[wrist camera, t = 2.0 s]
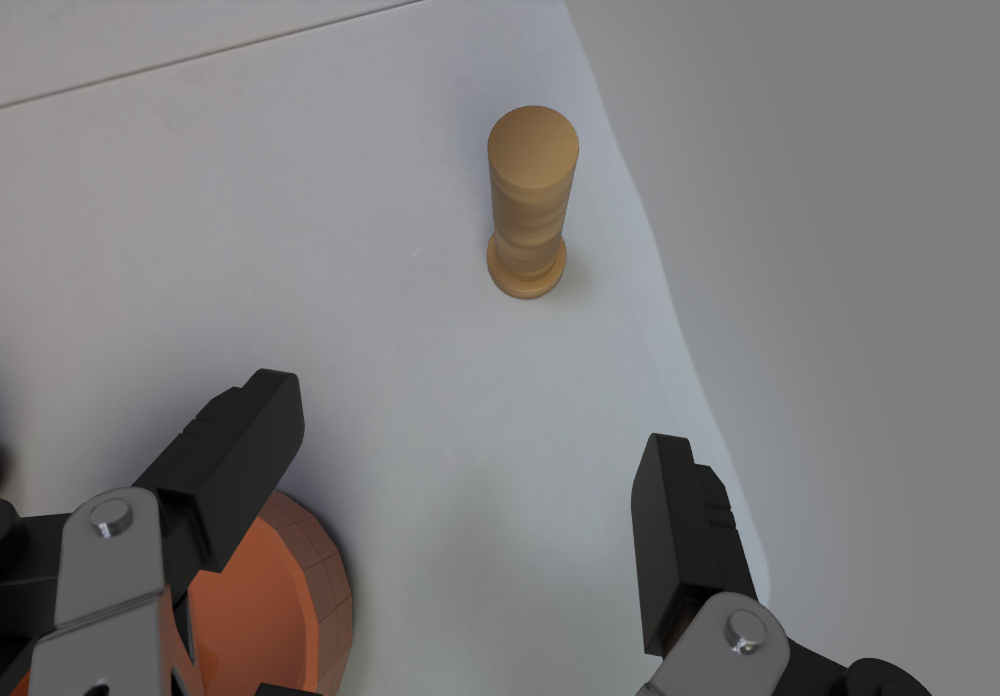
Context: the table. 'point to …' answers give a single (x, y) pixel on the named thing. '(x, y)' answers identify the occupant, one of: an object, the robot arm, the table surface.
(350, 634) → the bowl
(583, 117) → the table surface
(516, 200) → the wooden flanged peg
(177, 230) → the table surface
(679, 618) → the robot arm
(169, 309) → the table surface
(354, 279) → the table surface
